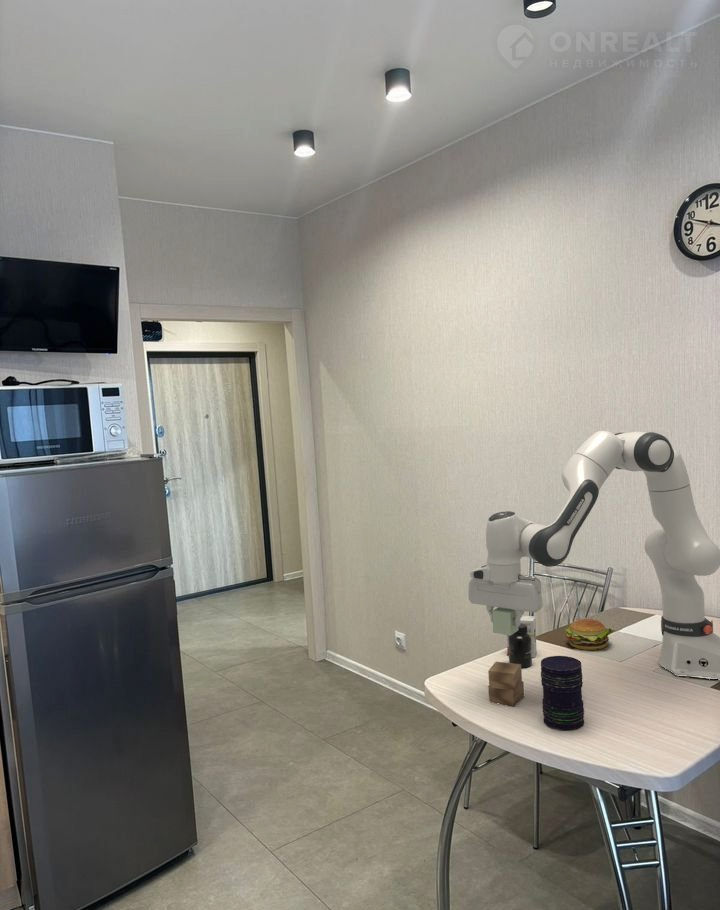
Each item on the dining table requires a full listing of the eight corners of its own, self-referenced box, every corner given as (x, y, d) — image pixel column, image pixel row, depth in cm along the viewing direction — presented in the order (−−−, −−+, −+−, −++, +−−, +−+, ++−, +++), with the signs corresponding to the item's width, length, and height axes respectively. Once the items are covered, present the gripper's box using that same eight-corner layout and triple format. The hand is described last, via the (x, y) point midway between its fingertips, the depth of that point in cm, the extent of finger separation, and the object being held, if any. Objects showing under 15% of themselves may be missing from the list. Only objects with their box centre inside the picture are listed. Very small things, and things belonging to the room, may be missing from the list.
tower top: (522, 680, 188) (521, 664, 188) (515, 690, 182) (514, 673, 182) (496, 677, 191) (495, 661, 191) (489, 687, 185) (488, 670, 185)
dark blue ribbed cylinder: (560, 734, 166) (557, 673, 165) (534, 718, 175) (531, 660, 174) (593, 724, 170) (590, 664, 169) (566, 709, 179) (563, 652, 178)
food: (557, 647, 223) (556, 623, 223) (577, 635, 234) (576, 612, 233) (599, 655, 214) (598, 630, 213) (617, 642, 224) (616, 618, 224)
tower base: (524, 697, 188) (523, 681, 188) (513, 707, 182) (512, 690, 182) (500, 692, 192) (499, 676, 192) (489, 702, 186) (488, 686, 186)
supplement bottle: (532, 668, 207) (530, 629, 206) (509, 668, 208) (507, 629, 208) (531, 660, 214) (529, 622, 213) (509, 660, 215) (507, 622, 214)
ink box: (506, 656, 219) (504, 619, 218) (509, 650, 223) (507, 614, 222) (535, 658, 215) (533, 620, 214) (537, 652, 220) (535, 615, 219)
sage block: (518, 630, 188) (517, 608, 187) (510, 635, 184) (509, 613, 183) (501, 627, 191) (500, 605, 190) (493, 632, 187) (492, 610, 186)
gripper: (545, 574, 183) (547, 626, 183) (475, 566, 195) (477, 615, 196) (536, 579, 178) (537, 632, 178) (464, 571, 190) (466, 621, 191)
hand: (505, 623), depth 187 cm, fingers closed on sage block, 5 cm apart
